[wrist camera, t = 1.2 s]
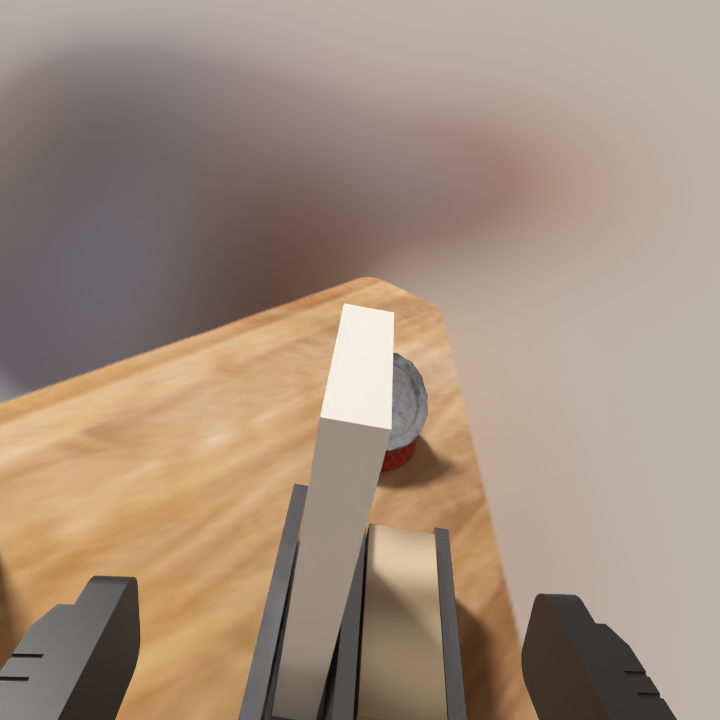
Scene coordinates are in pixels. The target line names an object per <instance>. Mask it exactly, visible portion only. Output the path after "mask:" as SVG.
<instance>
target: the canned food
mask: <svg viewBox="0 0 720 720" xmlns="http://www.w3.org/2000/svg"><path fill="white" fill-rule="evenodd" d="M427 399H428V395H427V392H426V390H425V387H424V383H423V379H422V376H421V375H420V373H419V372H418V370H417V369H416V367H415V366H414V365H413V363H412V362H411V361H409V360H407V359H405V358H403V357H402V356H400V355H399V354H398V353H393V382H392V427H391V433H390V437H389V441H388V445H387V448H386V452H385V456H384V460H383V464H382V468H381V471H380V472H386V471H390V470H394V469H396V468H399V467H401V466H402V465H404V464H405V463H407V462H408V460H409V459H410V458H411V456H412V454H413V451H414V448H415V445H416V441H417V438H418V435H419V433H420V432H421V431H422V428H423V425H424V423H425V420H426V418H427V415H428V408H427Z"/></svg>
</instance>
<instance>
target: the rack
mask: <svg viewBox="0 0 720 720" xmlns="http://www.w3.org/2000/svg"><path fill="white" fill-rule="evenodd" d="M307 491H308V486H305V485H299V484H294V487H293V491H292V496H291V500H290V504H289V508H288V512H287V517H286V521H285V525H284V529H283V534H282V538H281V542H280V546H279V550H278V555H277V559H276V563H275V567H274V571H273V576H272V580H271V584H270V588H269V593H268V597H267V601H266V605H265V609H264V614H263V618H262V622H261V626H260V630H259V635H258V639H257V643H256V647H255V651H254V656H253V660H252V664H251V668H250V673H249V677H248V681H247V685H246V689H245V694H244V698H243V702H242V706H241V710H240V715H239V719H238V720H295V719H289V718H282V717H276V716H272V710H273V704H274V698H275V692H276V686H277V680H278V673H279V667H280V661H281V655H282V649H283V643H284V636H285V630H286V624H287V618H288V612H289V606H290V600H291V593H292V587H293V581H294V575H295V569H296V563H297V557H298V550H299V544H300V535H301V529H302V522H303V516H304V510H305V504H306V498H307ZM433 534H435V546H436V560H437V574H438V589H439V603H440V617H441V632H442V646H443V660H444V675H445V689H446V704H447V718H448V720H467V715H466V705H465V695H464V685H463V674H462V664H461V654H460V644H459V634H458V623H457V613H456V603H455V593H454V583H453V572H452V562H451V552H450V542H449V531H448V530H447V529H441V528H435V529H434V531H433ZM365 538H366V529H365V533H364V537H363V540H362V544H361V548H360V552H359V556H358V560H357V563H356V567H355V571H354V575H353V579H352V582H351V586H350V590H349V594H348V598H347V602H346V605H345V609H344V613H343V617H342V621H341V625H340V628H339V632H338V636H337V640H336V644H335V648H334V651H333V655H332V659H331V663H330V667H329V671H328V674H327V678H326V682H325V686H324V690H323V694H322V697H321V701H320V705H319V709H318V713H317V717H316V720H353V711H354V697H355V683H356V668H357V654H358V639H359V625H360V610H361V596H362V582H363V567H364V553H365Z"/></svg>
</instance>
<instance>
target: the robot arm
mask: <svg viewBox="0 0 720 720" xmlns="http://www.w3.org/2000/svg"><path fill="white" fill-rule="evenodd" d="M139 648H140V621H139V602H138V584H137V580H136V578H135V577H119V576H93V577H92V578H91V579H90V580H89V582H88V583H87V585H86V586H85V588H84V590H83V591H82V593H81V595H80V596H79V598H78V600H77V601H76V603H75V604H74V605H65V604H57V605H56V606H55V607H54V608H53V609H51V610H50V611H49V612H48V613H46V614H45V615H44V616H43V617H42V618H40V619H39V620H38V621H37V622H35V623H34V624H33V625H32V626H31V627H30V628H29V630H28V631H27V633H26V634H25V635H24V637H23V638H22V640H21V641H20V643H19V644H18V646H17V647H16V649H15V650H14V652H13V653H12V657H11V659H8V660H7V662H6V663H5V665H4V666H3V668H2V669H1V671H0V720H115V718H116V715H117V713H118V710H119V708H120V706H121V703H122V701H123V698H124V696H125V693H126V691H127V688H128V686H129V683H130V681H131V678H132V676H133V673H134V670H135V667H136V663H137V659H138V654H139ZM521 661H522V672H523V677H524V681H525V684H526V687H527V690H528V692H529V695H530V698H531V700H532V703H533V705H534V708H535V710H536V713H537V716H538V718H539V720H677V719H676V718H675V716H674V715H673V713H672V711H671V710H670V708H669V707H668V705H667V704H666V702H665V700H664V699H661V698H660V693H659V691H658V690H657V688H656V687H655V685H654V684H653V682H652V681H651V679H650V677H647V676H646V671H645V670H644V668H643V667H642V665H641V663H640V662H639V660H638V659H637V657H636V656H635V654H634V652H633V651H632V649H631V648H630V646H629V645H628V644H627V643H625V642H624V641H623V640H622V639H621V638H620V637H619V636H618V635H617V634H616V633H615V632H613V630H612V629H610V628H609V627H608V626H607V625H606V624H596V623H595V622H594V620H593V618H592V617H591V615H590V614H589V612H588V610H587V608H586V607H585V605H584V603H583V602H582V600H581V599H580V598H579V597H578V596H576V595H564V594H538V595H537V596H536V598H535V601H534V604H533V608H532V612H531V616H530V620H529V624H528V628H527V633H526V636H525V640H524V644H523V648H522V657H521Z"/></svg>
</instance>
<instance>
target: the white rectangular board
mask: <svg viewBox="0 0 720 720" xmlns="http://www.w3.org/2000/svg"><path fill="white" fill-rule="evenodd" d="M393 337H394V313H393V312H388V311H382V310H377V309H371V308H366V307H360V306H355V305H349V304H344V307H343V311H342V316H341V321H340V326H339V330H338V335H337V340H336V344H335V349H334V354H333V359H332V363H331V368H330V373H329V378H328V382H327V387H326V392H325V397H324V401H323V406H322V411H321V416H320V421H319V427H318V434H317V440H316V446H315V452H314V458H313V464H312V470H311V477H310V483H309V489H308V495H307V501H306V507H305V513H304V520H303V526H302V532H301V538H300V544H299V550H298V557H297V563H296V569H295V575H294V581H293V587H292V593H291V600H290V606H289V612H288V618H287V624H286V630H285V636H284V643H283V649H282V655H281V661H280V667H279V673H278V680H277V686H276V692H275V698H274V704H273V710H272V716H276V717H282V718H289V719H295V720H316V717H317V713H318V709H319V705H320V701H321V697H322V694H323V690H324V686H325V682H326V678H327V674H328V671H329V667H330V663H331V659H332V655H333V651H334V648H335V644H336V640H337V636H338V632H339V628H340V625H341V621H342V617H343V613H344V609H345V605H346V602H347V598H348V594H349V590H350V586H351V582H352V579H353V575H354V571H355V567H356V563H357V560H358V556H359V552H360V548H361V544H362V540H363V537H364V533H365V529H366V525H367V521H368V517H369V514H370V510H371V506H372V502H373V498H374V494H375V491H376V487H377V483H378V479H379V475H380V471H381V468H382V464H383V460H384V456H385V452H386V448H387V445H388V441H389V437H390V433H391V427H392V382H393Z"/></svg>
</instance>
